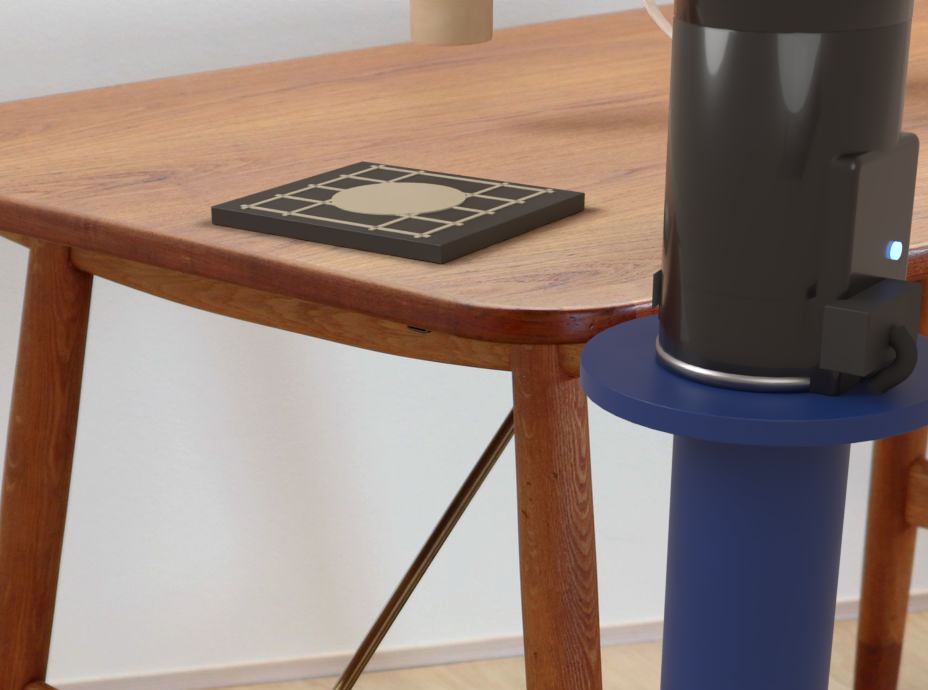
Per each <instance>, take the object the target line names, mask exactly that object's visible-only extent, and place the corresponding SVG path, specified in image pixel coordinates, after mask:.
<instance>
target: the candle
mask: <svg viewBox="0 0 928 690" xmlns="http://www.w3.org/2000/svg"><path fill="white" fill-rule="evenodd" d="M409 24H410V26H409V27H410V28H409V29H410V39H411V43H413V44H417V45H421V46H422V45H423V46H431V47H460V46H461V47H463V46H472V45H479V44H485V43H488V42H490V41H492V40H493V34H494V0H409Z"/></svg>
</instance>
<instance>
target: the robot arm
mask: <svg viewBox="0 0 928 690" xmlns="http://www.w3.org/2000/svg"><path fill="white" fill-rule="evenodd" d="M914 5H915V0H673V17H672V27H673V31H672V39H671V56H670V74H669V75H670V76H669V96H668V97H669V100H668V118H667V119H668V120H667V138H666V160H665V161H666V162H665V180H664V181H665V183H664V201H663V202H664V204H663V223H662V224H663V226H662V242H661V243H662V245H661V265H660V267H661V268H660V269H659V270H658V271H656V272H654V273H653V275H652V293H651V295H652V296H651V310H654V309H655V308H656V307H658V313H657V314H658V319H659V334H658V336H657V338H656V348H655V357H656V360H657V361H658V363H659V364H660V365H661V366H662V367H663V368H665V369H666V370H668V371H669V372H671V373H673V374H675V375H677V376H680V377H682V378H685V379H687V380H691V381H694V382H697V383H701V384H704V385H709V386H714V387H719V388H724V389H731V390H739V391H747V392H763V393H814V394H820V395H825V396H831V397H835V396H840V395H841V394H843V393H844V392H846V391H848V390H849V389H851V388H853V387H854V386H856V385H858V384H859V383H861V382H862V381H864V380H866V379H868V378H870V379H869V380H870V383H871V385H872V386H873V387H874V388H875V389H876V390H877V391H878V392H880V393H885V392H887V391H888V390H890V389H891V388H893V387H895V386H897V385H899V384H900V383H902V382H903V381H905V380H906V379H907V378H908V377H909V376H910V375H911V374H912V372H913V370H914V368H915V366H916V363H917V358H918V351H917V347H916V345H917V337H918V334H919V327H920V317H921V310H922V309H921V308H922V298H923V289H924V284H923V283H922V282H916V281H910V280H907V273H908V264H909V256H910V255H909V253H910V243H911V234H912V225H913V217H914V215H913V214H914V207H915V196H916V195H915V194H916V186H917V176H918V167H919V156H920V143H921V142H920V138H919V136H918V135H917V134H916V133H915V132H911V131H902V129H903V119H904V109H905V99H906V88H907V77H908V68H909V56H910V45H911V35H912V27H913V25H912V24H913V16H914V8H915V7H914Z"/></svg>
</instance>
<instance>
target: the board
mask: <svg viewBox="0 0 928 690" xmlns="http://www.w3.org/2000/svg"><path fill="white" fill-rule="evenodd" d="M585 203H586V193H585V192H584V191H575V190H569V189H568V190H567V189H563V188H561V189H560V188H554V187H547V186H539V185H533V184H526V183H518V182H512V181H504V180H499V179H498V180H497V179H490V178H484V177H476V176H470V175H469V176H468V175H462V174H456V173H448V172H443V171H436V170H435V171H433V170H427V169H419V168H414V167H413V168H412V167H407V166H406V167H405V166H398V165H391V164H384V163H378V162H371V161H363V160H362V161H359V162H355V163H352V164H349V165H345V166H342V167H339V168H338V167H337V168H335V169H332V170H329V171H325V172H321V173H319V174H316V175H315V174H314V175H312V176H308V177H305V178H302V179H298V180H295V181H292V182H289V183H285V184H282V185H278V186H275V187H271V188H268V189H265V190H262V191H259V192H254V193H251V194H248V195H245V196H241V197H238V198H235V199H232V200H228V201H225V202H222V203H218V204H215V205H211V207H210V213H211V214H210V215H211V224H212V225H218V226H224V227H230V228H234V229H242V230H246V231H252V232H257V233H264V234H268V235H269V234H270V235H275V236H281V237H286V238H293V239H299V240H304V241H310V242H314V243H315V242H316V243H322V244H327V245H333V246H338V247H344V248H349V249H354V250H355V249H356V250H361V251H367V252H372V253H379V254H383V255H390V256H394V257H395V256H396V257H402V258H407V259H411V260H412V259H413V260H418V261H424V262H429V263H435V264H441V265H442V264H444V263H447V262H450V261H452V260H455V259H458V258H461V257H463V256H466V255H468V254H471V253H473V252H476V251H479V250H482V249H484V248H487V247H489V246H492V245H495V244H497V243H500V242H503V241H505V240H509V239H511V238H513V237H516V236H518V235H522V234H524V233H527V232H530V231H533V230H534V229H537V228H540V227H543V226H546V225H548V224H551V223H553V222H556V221H559V220H561V219H564V218H566V217H569V216H571V215H574V214H577V213H580V212H582V211H584V210H585V209H586V208H585V206H586V204H585Z"/></svg>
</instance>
